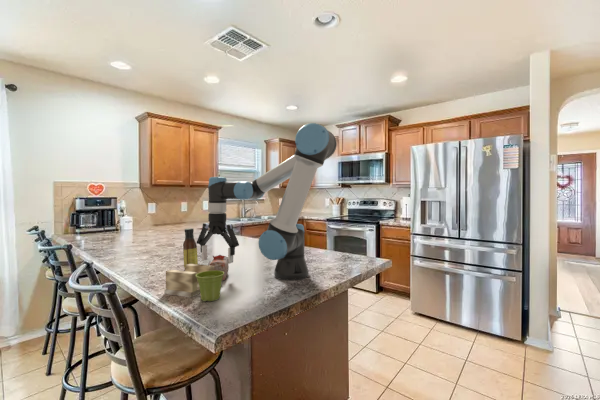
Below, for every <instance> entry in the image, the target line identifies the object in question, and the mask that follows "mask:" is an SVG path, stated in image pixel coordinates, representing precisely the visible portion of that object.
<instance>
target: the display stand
mask: <svg viewBox="0 0 600 400" xmlns="http://www.w3.org/2000/svg"><path fill="white" fill-rule="evenodd" d="M204 271H214V266H210V264H209V265H208V264H187V265H185V267H184V270H176V269H168V270H166V271H165V289H163V290H164V295H171V296H173V295H174V296H179V297H186V298H193V297H195V296H197V295H199V294H200V288H199V282H198V280H197V277H196V274H198V273H200V272H204Z"/></svg>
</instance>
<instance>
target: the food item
mask: <svg viewBox="0 0 600 400" xmlns="http://www.w3.org/2000/svg"><path fill="white" fill-rule="evenodd" d="M212 258H213V259H212V261H209V262H208V264H207V265H210V266H214V270H216V271H223V272H224V275H223V278H222V282H224V281H225V280H226V278H227V276H228V273H229V271H230V270H229V268H230V267H229V265H230V264H228V256H227V255H226V256H225V255H223V254H219V255H212Z"/></svg>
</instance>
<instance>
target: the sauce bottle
mask: <svg viewBox="0 0 600 400" xmlns="http://www.w3.org/2000/svg"><path fill="white" fill-rule="evenodd" d="M184 235H185V236H184V238H185V239H184V241H183V244H182V246H183V247H182V248H183V249H182V252H183V268H185V265H187V264H198V262H199V261H198V258H199V257H198V246H197V245H198V244H197V241H195V238H194V237H195V236H194V228H190V227H189V228H184Z"/></svg>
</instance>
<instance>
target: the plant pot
mask: <svg viewBox="0 0 600 400" xmlns="http://www.w3.org/2000/svg"><path fill="white" fill-rule="evenodd" d="M223 275H224V272H223V271H216V270H214V271H204V272H200V273H198V274H196V277H197V280H198V282H199V288H200V293H199V294H200V298H201V301H202V302H206V301H208V302H213V301H217V300H218V299H220V298H221V290H222V282H223V281H222V278H223Z"/></svg>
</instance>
